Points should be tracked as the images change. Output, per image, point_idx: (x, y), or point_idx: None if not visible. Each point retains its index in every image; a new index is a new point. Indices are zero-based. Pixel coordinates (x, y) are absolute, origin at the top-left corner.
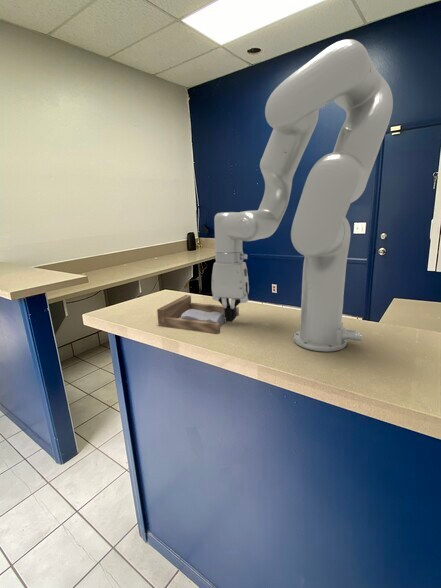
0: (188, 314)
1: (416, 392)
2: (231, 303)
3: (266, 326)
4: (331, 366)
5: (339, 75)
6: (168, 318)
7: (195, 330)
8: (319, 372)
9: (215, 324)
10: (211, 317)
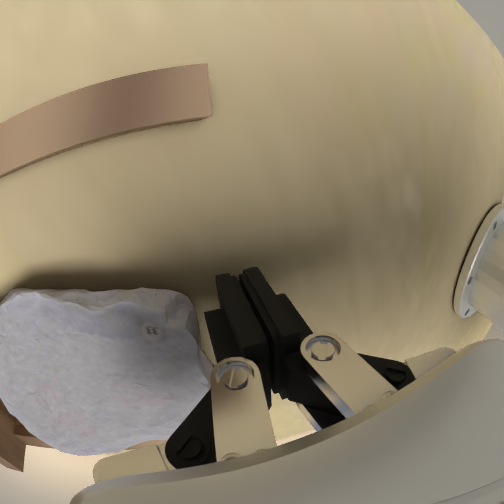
0: (84, 454)
1: (490, 322)
2: (320, 425)
3: (409, 225)
4: (462, 334)
5: None
6: (35, 444)
7: None
8: None
9: None
10: None
